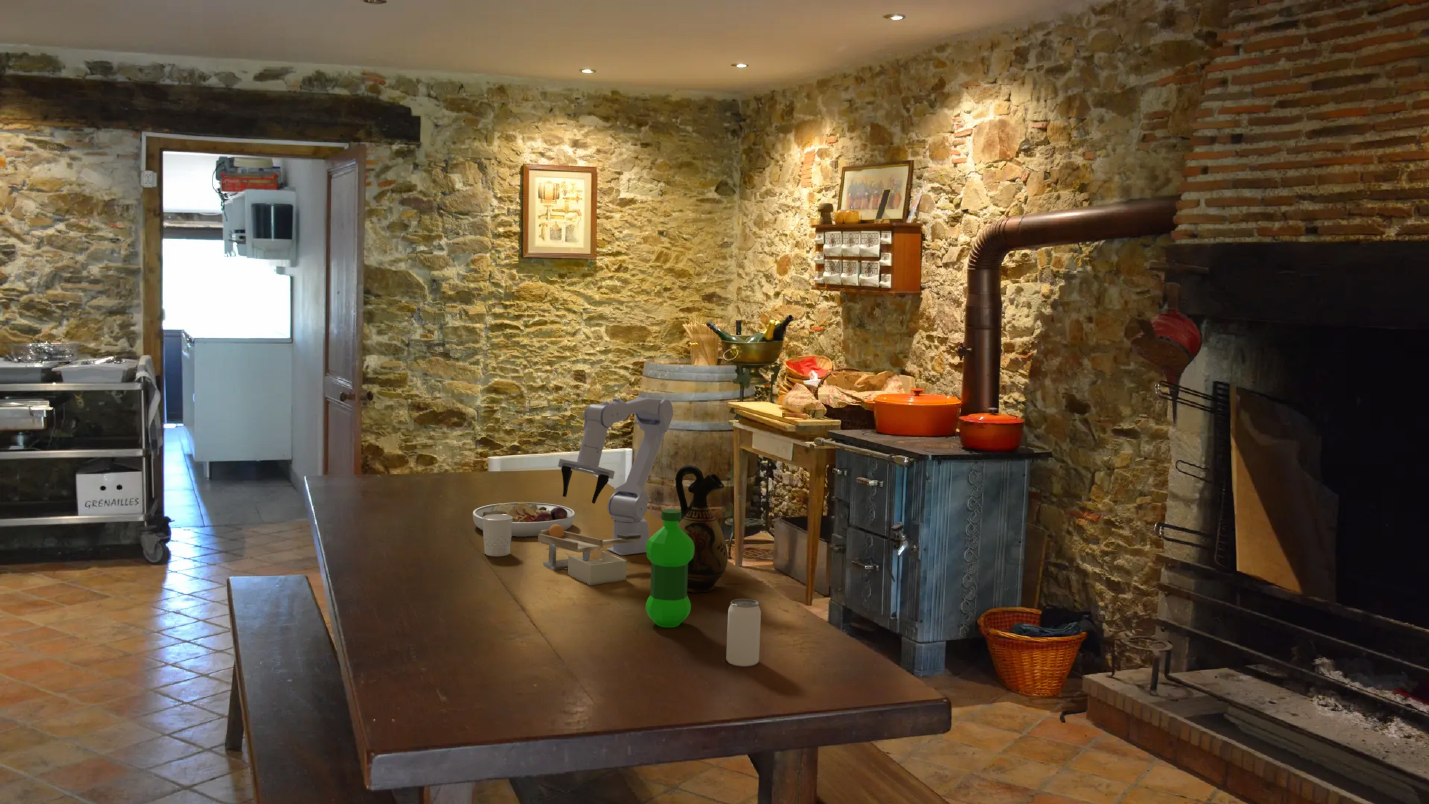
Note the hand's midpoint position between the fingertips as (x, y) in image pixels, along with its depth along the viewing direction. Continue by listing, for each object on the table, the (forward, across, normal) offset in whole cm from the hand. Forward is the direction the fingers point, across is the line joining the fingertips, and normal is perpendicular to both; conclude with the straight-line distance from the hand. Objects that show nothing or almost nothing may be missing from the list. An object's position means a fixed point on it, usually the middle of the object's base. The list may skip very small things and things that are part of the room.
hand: (578, 499), depth 288 cm
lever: (+10, +5, +8) cm, 13 cm away
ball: (+8, -5, +10) cm, 14 cm away
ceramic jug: (+16, +33, -10) cm, 38 cm away
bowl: (+7, -19, +48) cm, 53 cm away
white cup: (+18, -20, +16) cm, 31 cm away
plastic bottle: (+26, +30, -39) cm, 56 cm away
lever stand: (+16, +1, +7) cm, 18 cm away
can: (+30, +46, -62) cm, 83 cm away
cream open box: (+18, +10, -4) cm, 21 cm away
